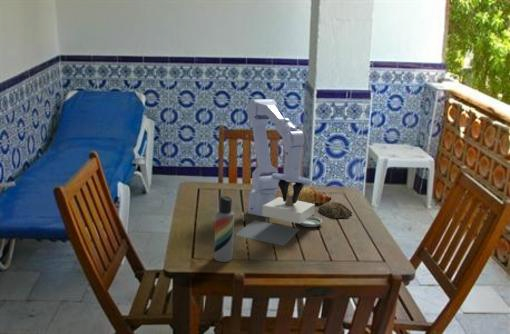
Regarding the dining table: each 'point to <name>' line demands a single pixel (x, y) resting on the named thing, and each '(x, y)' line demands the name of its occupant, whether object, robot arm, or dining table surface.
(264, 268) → the dining table surface
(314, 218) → the saucer
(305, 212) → the cover
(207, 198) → the dining table surface
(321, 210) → the bread roll
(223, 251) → the lotion bottle
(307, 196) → the croissant
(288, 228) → the mat
